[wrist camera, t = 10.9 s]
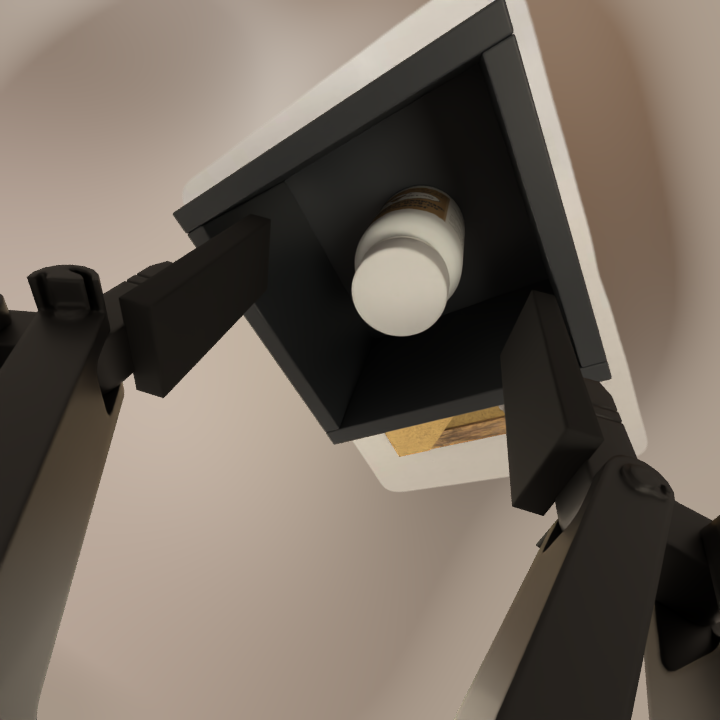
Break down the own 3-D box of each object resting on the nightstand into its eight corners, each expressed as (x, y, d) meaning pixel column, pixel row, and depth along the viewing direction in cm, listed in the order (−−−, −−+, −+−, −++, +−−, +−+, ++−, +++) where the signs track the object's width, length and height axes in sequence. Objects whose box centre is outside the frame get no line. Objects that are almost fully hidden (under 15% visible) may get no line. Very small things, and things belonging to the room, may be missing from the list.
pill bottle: (442, 165, 19) (427, 208, 13) (478, 250, 21) (481, 324, 14) (361, 210, 21) (314, 267, 15) (401, 284, 23) (373, 362, 16)
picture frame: (401, 448, 62) (572, 411, 52) (399, 457, 60) (575, 420, 50) (340, 348, 54) (527, 282, 44) (337, 356, 53) (529, 289, 42)
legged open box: (361, 127, 39) (171, 214, 15) (482, 54, 34) (503, -6, 10) (412, 238, 44) (333, 445, 19) (524, 187, 39) (612, 379, 14)
